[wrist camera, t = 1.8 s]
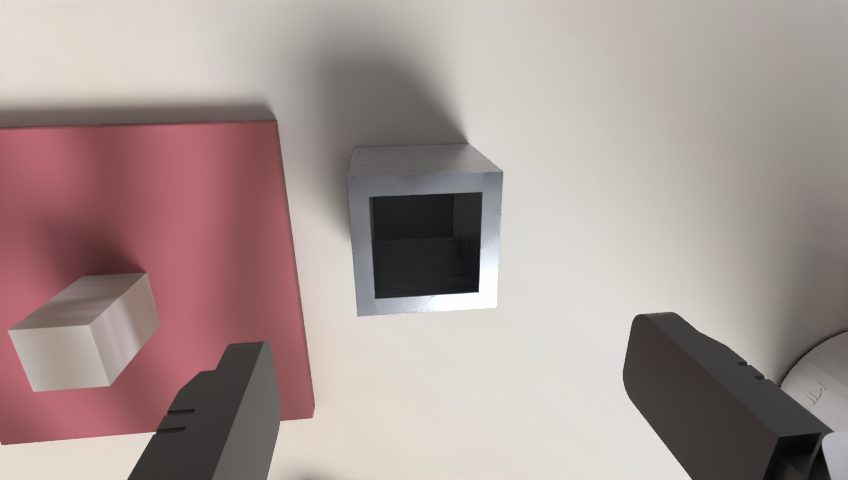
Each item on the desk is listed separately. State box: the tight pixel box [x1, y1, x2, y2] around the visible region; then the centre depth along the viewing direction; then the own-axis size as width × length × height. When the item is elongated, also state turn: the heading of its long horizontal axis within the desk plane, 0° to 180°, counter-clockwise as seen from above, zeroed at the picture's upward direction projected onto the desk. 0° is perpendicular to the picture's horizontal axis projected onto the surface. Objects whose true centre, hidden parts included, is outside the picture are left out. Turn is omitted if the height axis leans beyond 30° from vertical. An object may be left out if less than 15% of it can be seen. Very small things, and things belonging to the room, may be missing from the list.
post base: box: [0, 120, 315, 445], centre depth 19 cm, size 16×16×6 cm
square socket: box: [346, 143, 503, 316], centre depth 19 cm, size 5×5×6 cm
